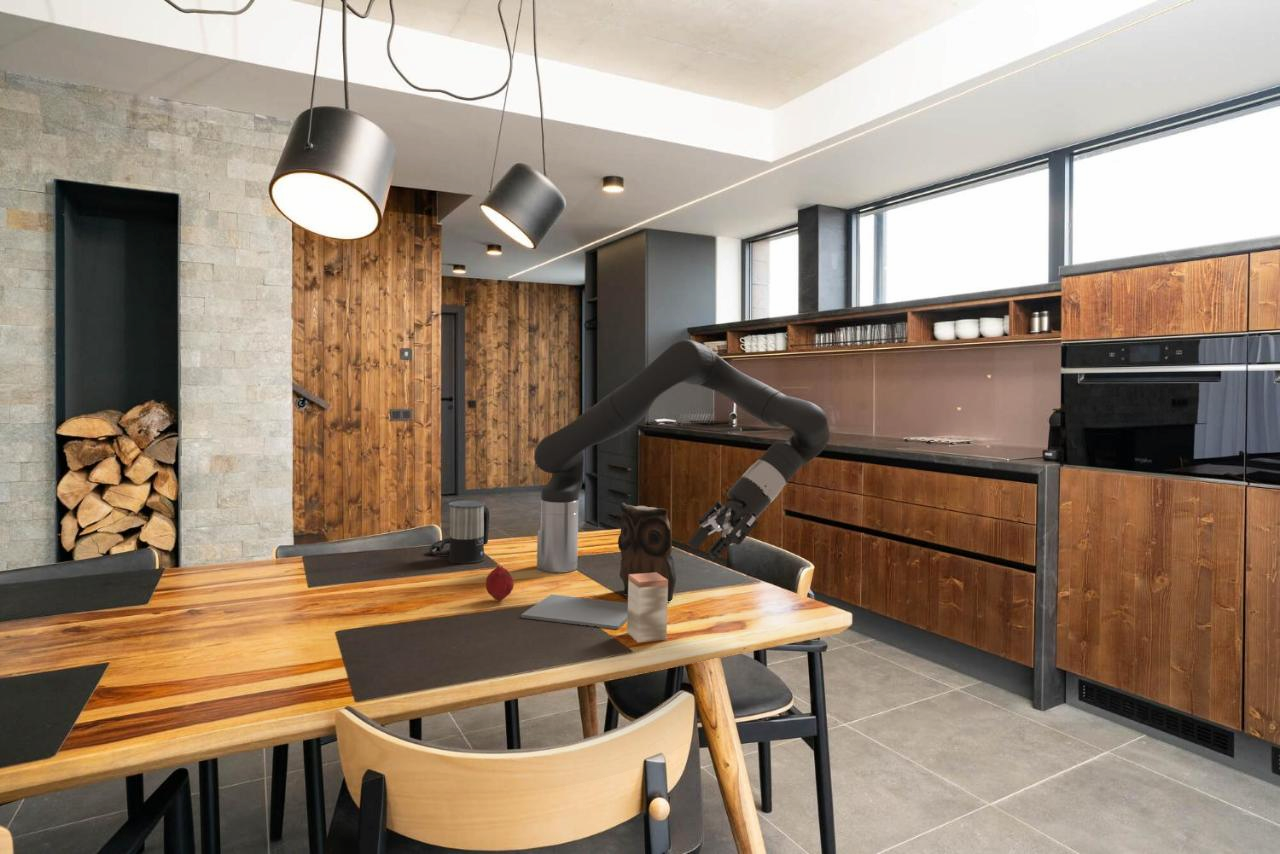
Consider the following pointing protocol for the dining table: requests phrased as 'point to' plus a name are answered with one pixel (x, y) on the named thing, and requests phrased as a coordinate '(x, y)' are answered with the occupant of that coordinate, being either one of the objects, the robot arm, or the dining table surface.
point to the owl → (646, 544)
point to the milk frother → (465, 532)
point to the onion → (499, 583)
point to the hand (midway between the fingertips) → (701, 550)
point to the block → (647, 607)
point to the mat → (580, 611)
